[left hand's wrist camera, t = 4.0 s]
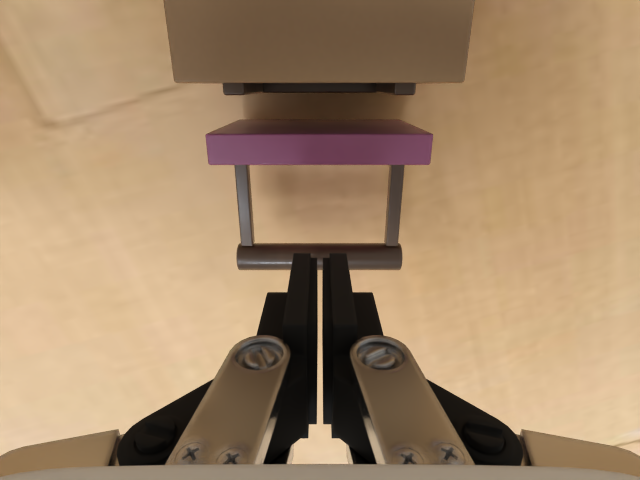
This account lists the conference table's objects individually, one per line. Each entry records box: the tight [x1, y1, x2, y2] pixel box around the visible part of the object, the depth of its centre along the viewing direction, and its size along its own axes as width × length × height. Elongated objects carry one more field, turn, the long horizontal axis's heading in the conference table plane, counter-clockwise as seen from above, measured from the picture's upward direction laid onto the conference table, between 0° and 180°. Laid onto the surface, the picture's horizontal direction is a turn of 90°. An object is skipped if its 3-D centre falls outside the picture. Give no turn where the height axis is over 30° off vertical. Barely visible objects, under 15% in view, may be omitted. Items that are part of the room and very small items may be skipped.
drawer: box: [206, 83, 433, 270], centre depth 16 cm, size 24×9×7 cm, turn 0°
